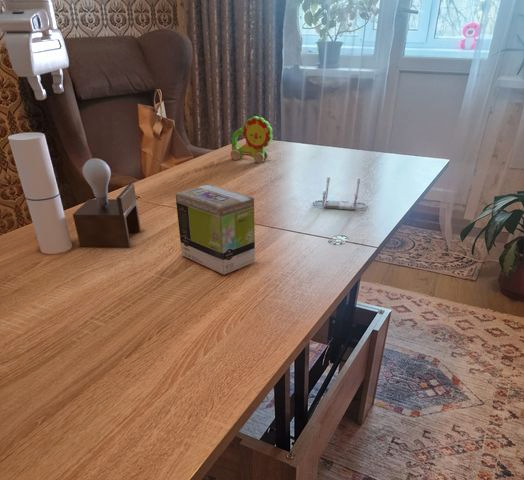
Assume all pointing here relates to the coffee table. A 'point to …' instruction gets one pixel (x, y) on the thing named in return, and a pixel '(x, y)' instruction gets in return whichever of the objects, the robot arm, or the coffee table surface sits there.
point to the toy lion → (253, 139)
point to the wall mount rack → (340, 204)
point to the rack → (108, 221)
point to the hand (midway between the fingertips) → (50, 96)
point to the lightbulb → (98, 179)
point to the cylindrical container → (41, 191)
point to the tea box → (216, 227)
